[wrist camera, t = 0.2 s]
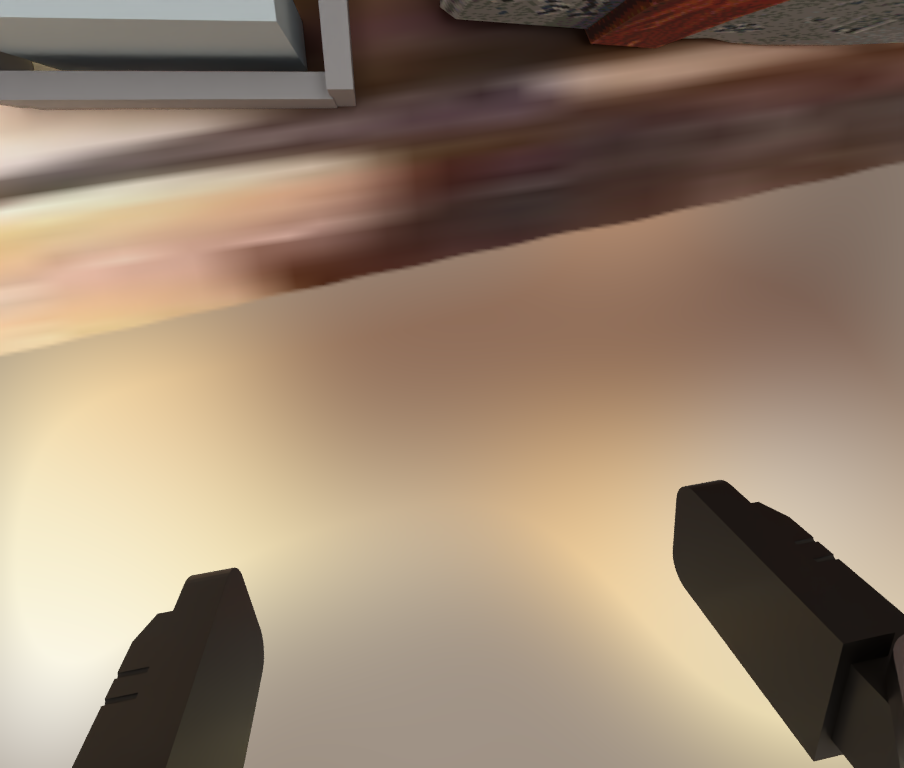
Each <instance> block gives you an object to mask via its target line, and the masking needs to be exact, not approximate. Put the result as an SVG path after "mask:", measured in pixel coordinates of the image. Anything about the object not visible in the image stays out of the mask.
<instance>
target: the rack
mask: <svg viewBox="0 0 904 768" xmlns="http://www.w3.org/2000/svg"><path fill="white" fill-rule="evenodd" d="M318 1H319V12H320V23H321V34H322V44H323V55H324V66H325V72H234V71H34V69H33V65H32V62H31V61H30V60H27V59H23V58H20V57H17V56H14V55H10V54H7V53H4V52H1V51H0V105H6V106H13V107H19V108H36V109H42V110H71V109H279V108H337V106H356V99H355V86H354V73H353V59H352V46H351V33H350V19H349V6H348V0H318Z"/></svg>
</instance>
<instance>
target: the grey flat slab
mask: <svg viewBox="0 0 904 768" xmlns="http://www.w3.org/2000/svg"><path fill="white" fill-rule="evenodd" d="M0 51H1V52H4V53H7V54H10V55H14V56H17V57H20V58H23V59H27V60H30V61H33V62H36V63H40V64H43V65H46V66H50V67H53V68H56V69H59V70H71V71H307V61H306V51H305V42H304V32H303V22H302V20H301V18H300V15H299V13H298V11H297V9H296V6H295V4H294V2H293V0H0Z"/></svg>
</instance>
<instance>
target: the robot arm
mask: <svg viewBox="0 0 904 768" xmlns="http://www.w3.org/2000/svg"><path fill="white" fill-rule="evenodd" d="M673 560H674V565H675V568H676V572H677V574H678V577H679V579H680V581H681V583H682V584H683V586H684V588H685V589H686V590H687V592H688V593H689V594H690V596H691V597H692V598H693V600H694V601H695V602H696V603H697V605H698V606H699V608H700V609H701V611H702V612H703V613H704V615H705V616H706V617H707V619H708V620H709V621H710V623H711V624H712V625H713V626H714V628H715V629H716V630H717V632H718V633H719V635H720V636H721V637H722V639H723V640H724V641H725V643H726V644H727V645H728V647H729V648H730V650H731V651H732V652H733V654H735V656H736V658H737V659H738V660H739V661H740V663H741V664H742V666H743V667H744V668H745V670H746V671H747V672H748V674H749V675H750V676H751V678H752V679H753V680H754V682H755V683H756V685H757V686H758V687H759V689H760V690H761V691H762V693H763V694H764V695H765V697H766V698H767V699H768V700H769V702H770V703H771V705H772V706H773V707H774V709H775V710H776V711H777V713H778V714H779V715H780V717H781V718H782V719H783V721H784V722H785V724H786V725H787V726H788V728H789V729H790V730H791V732H792V733H793V734H794V736H795V737H796V738H797V739H798V741H799V742H800V744H801V745H802V746H803V747H804V749H805V750H806V752H807V753H808V754H809V756H810V757H811V759H812V760H813V761H817V760H822V759H826V758H830V757H834V756H838V755H844V756H845V757H846V758H847V760H848V761H849V762H850V763H851V765H852V766H853V767H854V768H904V614H903V613H902V612H901V611H900V610H898V609H897V608H896V607H895V606H894V605H892V604H891V603H890V602H889V601H887V599H885V598H884V597H883V596H882V595H881V594H879V593H878V592H877V591H876V590H875V589H874V588H872V587H871V586H870V585H869V584H868V583H866V582H865V581H864V580H863V579H862V578H860V577H859V576H858V575H857V574H856V573H855V572H853V571H852V570H851V569H850V568H849V567H848V566H846V565H845V564H844V563H843V562H842V561H840V560H839V559H837V560H836V559H835V558H834V556H833V554H832V553H831V552H830V551H829V550H827V549H826V548H825V547H824V546H823V545H822V544H820V543H819V542H815V541H814V540H813V537H812V536H811V535H810V534H809V533H807V532H806V531H805V530H804V529H803V528H802V527H800V526H799V525H798V524H797V523H796V522H794V521H793V520H792V519H791V518H790V517H788V516H786V515H784V514H782V513H780V512H778V511H776V510H774V509H772V508H770V507H768V506H765V505H764V504H762V503H760V502H755V503H750V502H749V501H748V500H747V499H746V498H745V497H744V496H743V495H741V494H740V493H739V492H738V491H737V490H736V489H735V488H734V487H733V486H731V485H730V484H729V483H728V482H726V481H723V480H717V481H712V482H706V483H701V484H695V485H690V486H685V487H681V488H680V489H679V491H678V493H677V499H676V513H675V527H674V541H673ZM263 664H264V646H263V638H262V633H261V629H260V626H259V624H258V621H257V618H256V615H255V612H254V609H253V606H252V603H251V600H250V597H249V594H248V591H247V588H246V585H245V582H244V579H243V577H242V574H241V572H240V571H239V569H237V568H231V569H225V570H219V571H214V572H208V573H203V574H198V575H192V576H190V577H189V578H188V579H187V580H186V582H185V584H184V586H183V589H182V591H181V594H180V596H179V598H178V600H177V603H176V605H175V608H174V610H173V611H170V612H165V613H159V614H157V615H156V616H155V617H154V619H153V620H152V621H151V622H150V623H149V624H148V625H147V626H146V627H145V629H144V630H143V631H142V632H141V633H140V634H139V635H138V637H136V639H135V640H134V641H133V642H132V644H131V646H130V648H129V650H128V652H127V654H126V656H125V658H124V660H123V662H122V665H121V667H120V669H119V671H118V678H117V679H114V681H113V684H112V685H111V688H110V689H109V692H108V694H107V696H106V698H105V705H104V706H102V707H101V709H100V710H99V712H98V715H97V717H96V719H95V721H94V723H93V725H92V727H91V729H90V731H89V733H88V735H87V737H86V739H85V742H84V744H83V746H82V748H81V750H80V752H79V754H78V756H77V758H76V760H75V762H74V765H73V766H72V768H243V766H244V762H245V757H246V752H247V747H248V742H249V736H250V732H251V727H252V722H253V716H254V712H255V707H256V702H257V697H258V692H259V687H260V681H261V677H262V672H263Z"/></svg>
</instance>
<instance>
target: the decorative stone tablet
mask: <svg viewBox="0 0 904 768" xmlns="http://www.w3.org/2000/svg"><path fill="white" fill-rule="evenodd" d="M440 7H441V8H442V9H443V10H445V11H446V12H447V13H449V14H450V15H451V16H452V17H454V18H455V19H463V20H476V21H489V22H502V23H515V24H528V25H541V26H554V27H567V28H580V29H585V32H586V34H587V36H588V39H589V41H590V44H604V45H618V46H631V47H645V48H658V47H660V46H663V45H666V44H668V43H671V42H674V41H677V40H679V39H687V38H713V39H717V40H722V41H726V42H730V43H743V44H757V45H852V44H876V43H900V42H904V0H440Z"/></svg>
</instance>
